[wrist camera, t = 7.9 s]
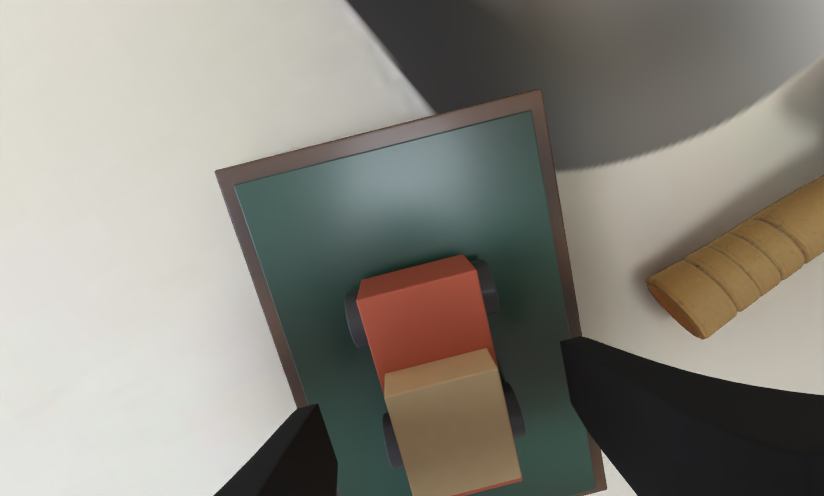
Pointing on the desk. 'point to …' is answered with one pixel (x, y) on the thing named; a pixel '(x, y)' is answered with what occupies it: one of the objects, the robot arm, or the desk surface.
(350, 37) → the desk surface
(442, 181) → the green topped wooden block
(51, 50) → the desk surface
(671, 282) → the kendama
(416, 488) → the toy car
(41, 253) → the desk surface
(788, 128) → the desk surface
